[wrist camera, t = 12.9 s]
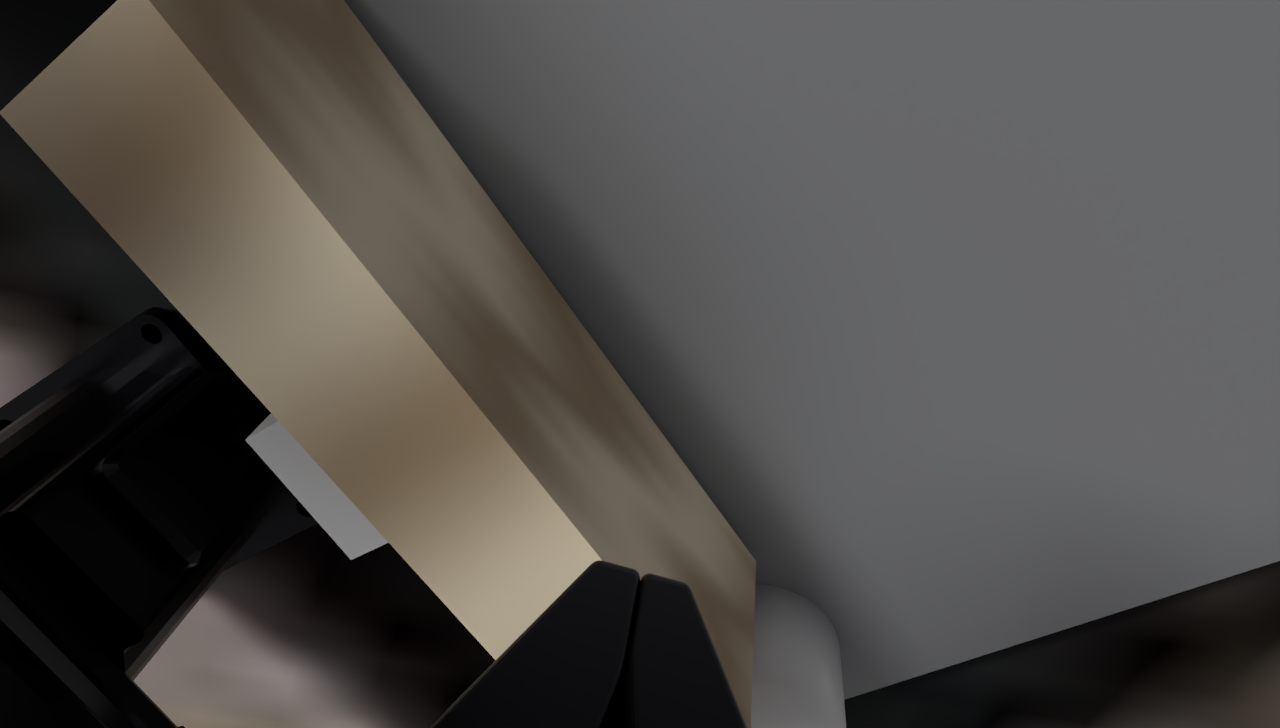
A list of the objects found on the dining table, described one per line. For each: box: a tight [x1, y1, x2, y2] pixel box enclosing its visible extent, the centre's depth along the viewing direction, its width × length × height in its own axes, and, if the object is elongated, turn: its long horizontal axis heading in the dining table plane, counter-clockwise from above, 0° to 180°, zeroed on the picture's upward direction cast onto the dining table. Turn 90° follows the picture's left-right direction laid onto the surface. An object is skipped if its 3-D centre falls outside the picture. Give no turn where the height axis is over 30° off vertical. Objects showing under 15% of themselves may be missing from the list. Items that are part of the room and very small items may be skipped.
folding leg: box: [0, 0, 756, 728], centre depth 17 cm, size 15×3×5 cm, turn 34°
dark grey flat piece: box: [246, 0, 1280, 728], centre depth 16 cm, size 22×20×5 cm
